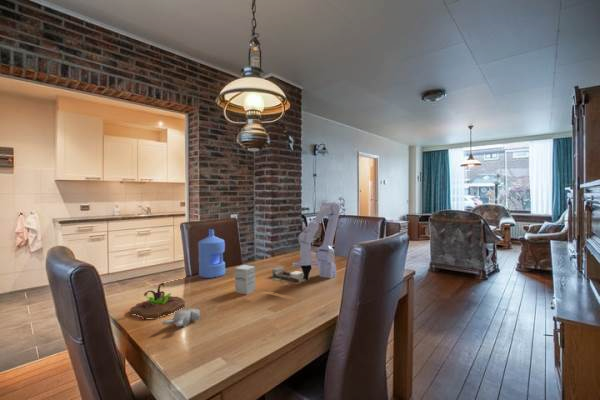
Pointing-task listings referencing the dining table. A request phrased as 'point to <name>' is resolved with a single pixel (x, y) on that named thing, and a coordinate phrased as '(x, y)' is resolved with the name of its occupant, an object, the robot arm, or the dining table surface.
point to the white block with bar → (296, 275)
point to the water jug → (211, 256)
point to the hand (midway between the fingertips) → (306, 279)
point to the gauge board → (281, 274)
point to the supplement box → (245, 279)
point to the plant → (158, 305)
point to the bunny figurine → (184, 317)
